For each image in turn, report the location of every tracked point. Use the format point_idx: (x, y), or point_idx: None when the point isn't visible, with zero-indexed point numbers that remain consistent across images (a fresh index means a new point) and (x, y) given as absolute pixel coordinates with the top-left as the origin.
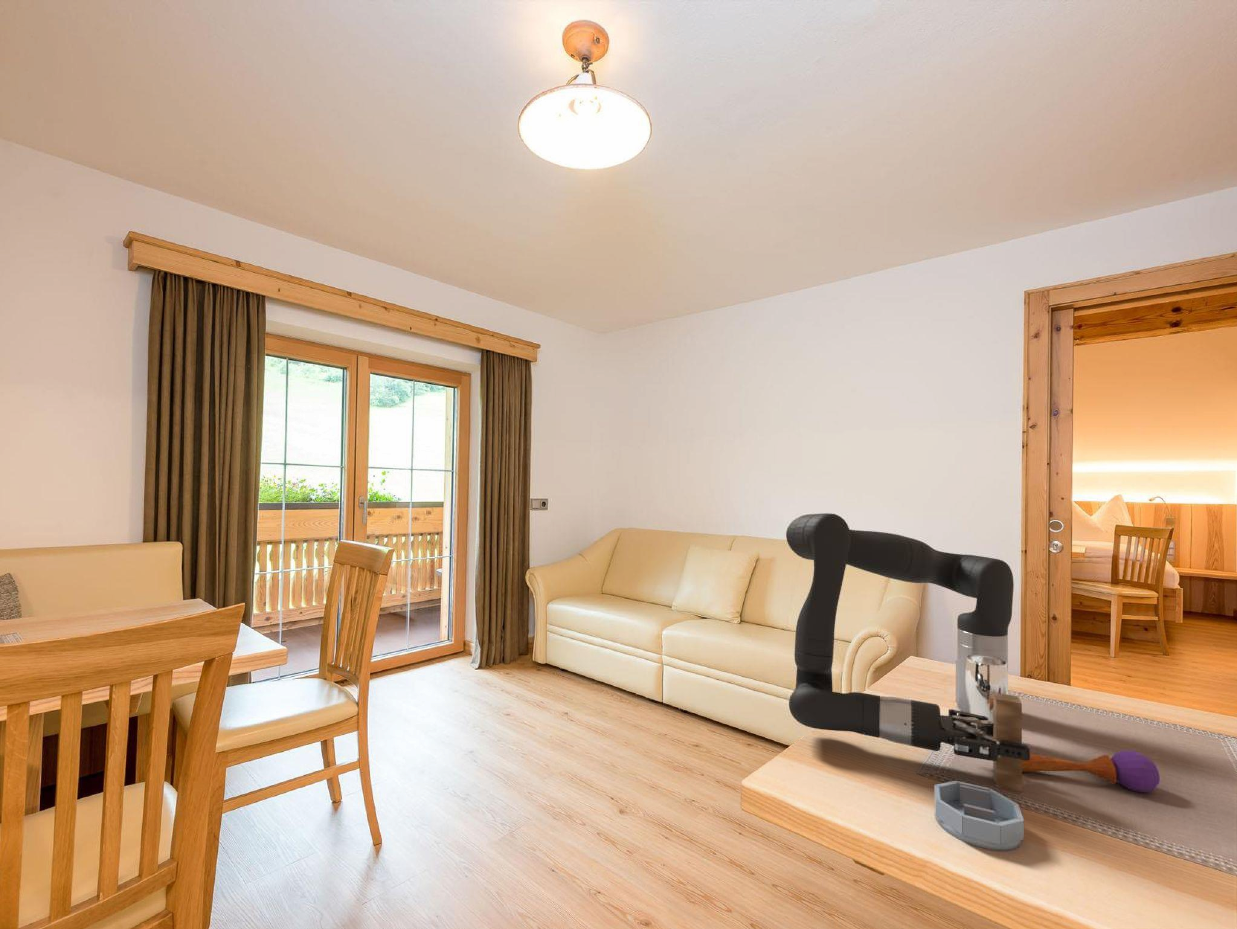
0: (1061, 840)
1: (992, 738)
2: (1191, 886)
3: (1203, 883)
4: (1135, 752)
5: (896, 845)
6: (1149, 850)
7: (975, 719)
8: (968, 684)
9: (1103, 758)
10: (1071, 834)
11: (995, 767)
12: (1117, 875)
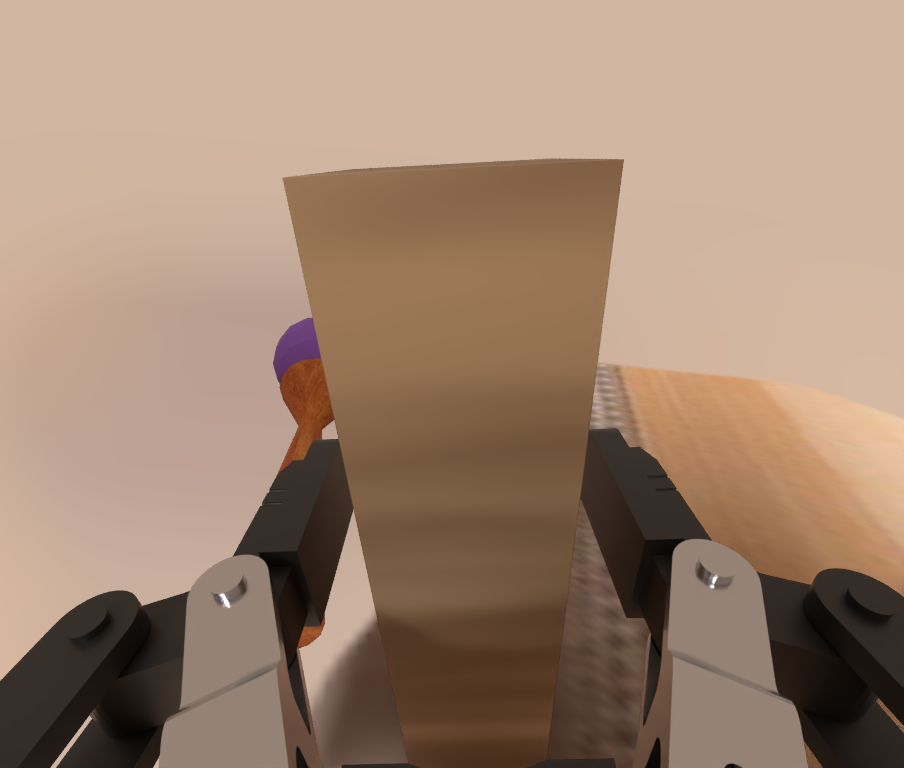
0: (836, 562)
1: (701, 596)
2: (736, 397)
3: (699, 386)
4: (312, 318)
5: None
6: (644, 419)
7: (253, 732)
8: None
9: (314, 371)
10: (746, 531)
11: (508, 728)
12: (872, 476)
